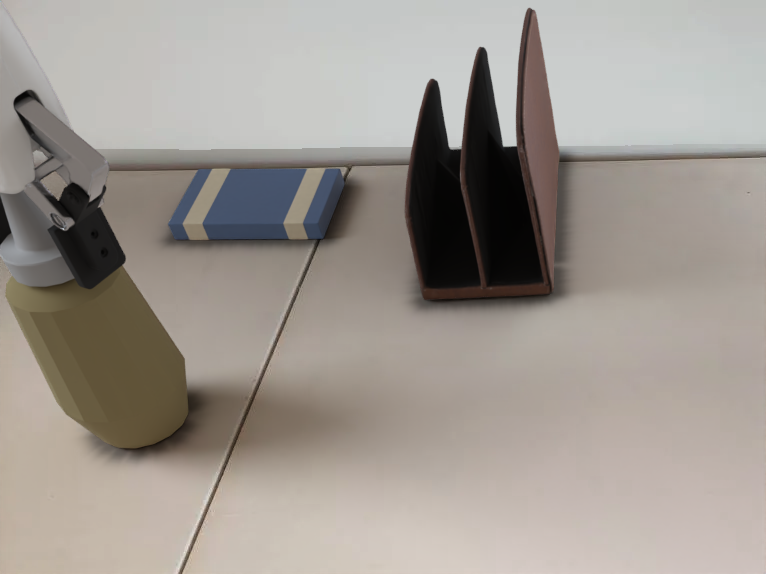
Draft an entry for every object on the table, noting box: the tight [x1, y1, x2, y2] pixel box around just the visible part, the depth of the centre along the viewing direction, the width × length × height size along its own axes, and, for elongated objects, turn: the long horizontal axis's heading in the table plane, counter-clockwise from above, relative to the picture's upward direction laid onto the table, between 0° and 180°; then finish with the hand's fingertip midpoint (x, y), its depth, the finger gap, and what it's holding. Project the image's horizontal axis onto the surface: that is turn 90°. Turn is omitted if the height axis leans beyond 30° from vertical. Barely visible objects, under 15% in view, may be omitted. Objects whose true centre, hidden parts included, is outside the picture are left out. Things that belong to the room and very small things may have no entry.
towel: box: [167, 167, 346, 241], centre depth 88 cm, size 8×12×2 cm, turn 90°
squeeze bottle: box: [0, 191, 190, 449], centre depth 66 cm, size 8×8×18 cm
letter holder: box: [404, 7, 560, 301], centre depth 82 cm, size 10×20×14 cm, turn 4°
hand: (51, 257), depth 63 cm, fingers open, 7 cm apart
